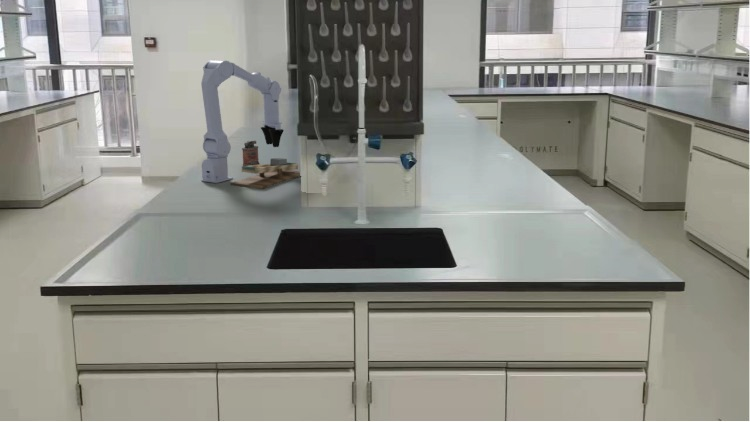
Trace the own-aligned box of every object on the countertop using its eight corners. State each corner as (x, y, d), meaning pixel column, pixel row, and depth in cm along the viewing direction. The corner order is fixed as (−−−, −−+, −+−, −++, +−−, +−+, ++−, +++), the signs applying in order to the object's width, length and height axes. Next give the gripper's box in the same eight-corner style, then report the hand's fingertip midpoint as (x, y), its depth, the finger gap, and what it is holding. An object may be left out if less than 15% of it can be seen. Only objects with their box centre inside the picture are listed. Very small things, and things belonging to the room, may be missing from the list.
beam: (256, 173, 257) (256, 167, 257) (241, 171, 260) (241, 165, 260) (298, 169, 280) (298, 163, 280) (283, 167, 284) (283, 162, 283)
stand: (261, 188, 255) (261, 176, 254) (230, 184, 262) (230, 173, 261) (308, 174, 281) (308, 163, 280) (279, 170, 287) (278, 159, 286)
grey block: (278, 167, 271) (279, 159, 271) (270, 166, 273) (270, 158, 273) (286, 166, 276) (286, 158, 275) (278, 165, 278) (278, 158, 277)
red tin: (246, 166, 296) (245, 142, 293) (240, 165, 298) (239, 141, 295) (260, 163, 302) (259, 140, 299) (255, 163, 304) (254, 139, 301)
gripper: (287, 112, 279) (288, 147, 283) (274, 109, 292) (275, 142, 295) (270, 113, 276) (271, 148, 280) (257, 110, 289) (259, 143, 292)
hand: (272, 145), depth 287 cm, fingers open, 7 cm apart
